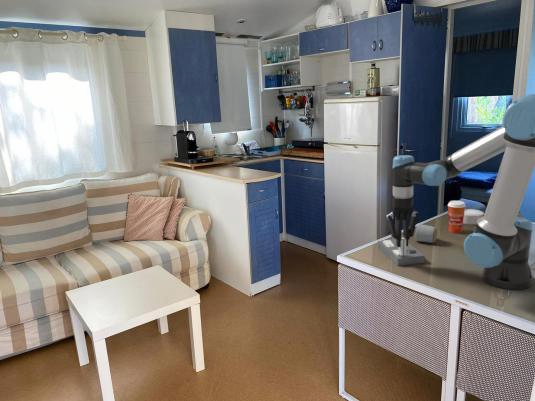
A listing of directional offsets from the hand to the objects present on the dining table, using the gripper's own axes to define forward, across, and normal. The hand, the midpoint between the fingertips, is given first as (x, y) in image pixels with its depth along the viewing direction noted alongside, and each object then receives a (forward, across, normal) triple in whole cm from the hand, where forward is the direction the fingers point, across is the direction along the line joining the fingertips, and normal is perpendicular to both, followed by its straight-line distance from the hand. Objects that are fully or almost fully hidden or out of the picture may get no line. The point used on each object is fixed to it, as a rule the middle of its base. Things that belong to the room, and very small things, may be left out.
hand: (402, 254), depth 163 cm
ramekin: (+3, -53, -37) cm, 65 cm away
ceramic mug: (+4, -21, -20) cm, 29 cm away
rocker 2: (+1, 0, -3) cm, 3 cm away
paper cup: (+4, -39, -27) cm, 47 cm away
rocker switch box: (+4, -3, -8) cm, 9 cm away
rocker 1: (+1, 0, -13) cm, 13 cm away
